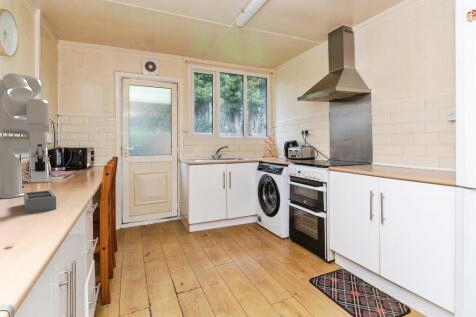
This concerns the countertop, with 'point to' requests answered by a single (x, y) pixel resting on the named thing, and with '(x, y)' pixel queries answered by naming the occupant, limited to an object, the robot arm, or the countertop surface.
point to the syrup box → (38, 175)
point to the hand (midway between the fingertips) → (39, 170)
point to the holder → (39, 201)
